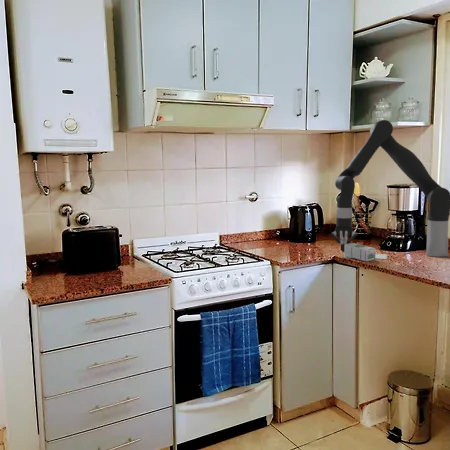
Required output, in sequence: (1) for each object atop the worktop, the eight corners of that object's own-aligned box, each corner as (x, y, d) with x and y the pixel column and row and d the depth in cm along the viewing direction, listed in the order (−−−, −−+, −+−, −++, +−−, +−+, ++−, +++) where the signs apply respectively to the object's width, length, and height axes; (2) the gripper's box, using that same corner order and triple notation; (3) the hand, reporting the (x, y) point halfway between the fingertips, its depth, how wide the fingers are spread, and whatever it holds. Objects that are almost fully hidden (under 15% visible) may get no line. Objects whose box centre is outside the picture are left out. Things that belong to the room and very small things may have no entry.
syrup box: (343, 255, 229) (366, 262, 217) (344, 243, 228) (367, 250, 215) (352, 253, 232) (375, 260, 220) (352, 241, 231) (375, 248, 218)
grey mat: (386, 255, 232) (386, 254, 232) (387, 259, 221) (387, 258, 221) (345, 253, 238) (345, 252, 238) (343, 257, 227) (343, 256, 227)
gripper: (358, 216, 232) (357, 251, 234) (331, 215, 236) (330, 249, 238) (357, 217, 225) (357, 253, 227) (329, 217, 229) (329, 252, 231)
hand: (343, 251), depth 233 cm, fingers closed
